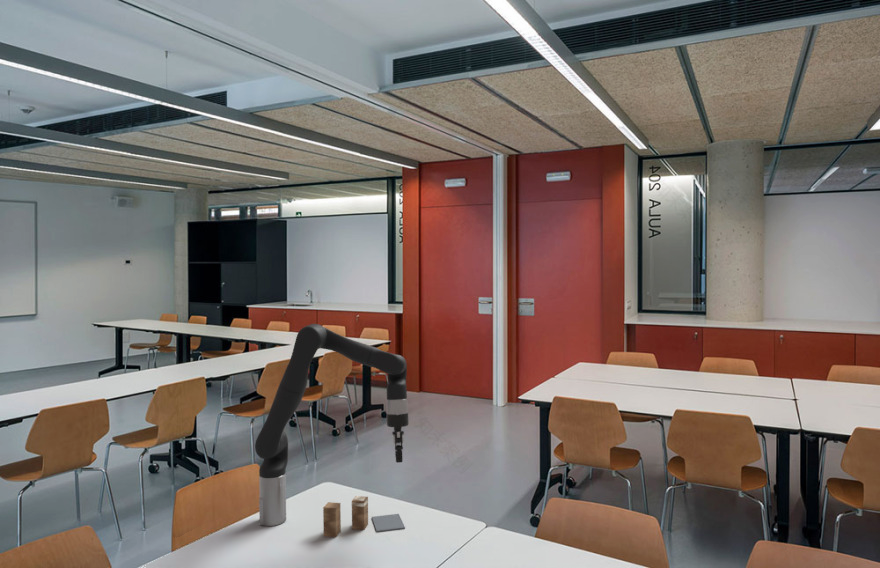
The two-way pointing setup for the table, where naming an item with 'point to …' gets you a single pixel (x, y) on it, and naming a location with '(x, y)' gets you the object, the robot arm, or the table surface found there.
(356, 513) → the label box
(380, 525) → the slate mat
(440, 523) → the table surface
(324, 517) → the plain box
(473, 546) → the table surface
